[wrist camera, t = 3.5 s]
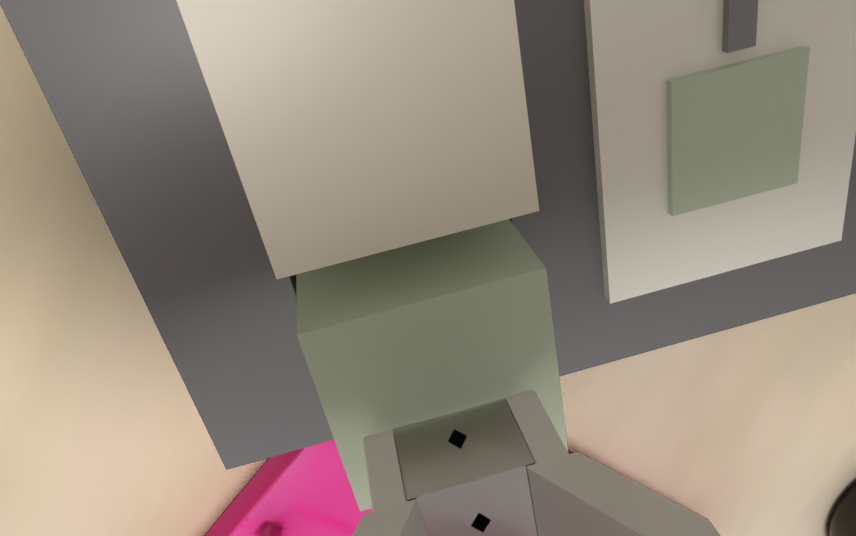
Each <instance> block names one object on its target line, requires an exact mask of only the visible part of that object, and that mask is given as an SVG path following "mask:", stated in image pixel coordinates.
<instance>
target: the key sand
mask: <svg viewBox="0 0 856 536" xmlns="http://www.w3.org/2000/svg"><path fill="white" fill-rule="evenodd" d="M176 1H177V4H178V7H179V9H180V12H181V15H182V18H183V21H184V23H185V26H186V29H187V32H188V34H189V37H190V40H191V43H192V46H193V48H194V51H195V54H196V57H197V60H198V62H199V65H200V68H201V71H202V73H203V76H204V79H205V82H206V85H207V87H208V90H209V93H210V96H211V98H212V101H213V104H214V107H215V110H216V112H217V115H218V118H219V121H220V123H221V126H222V129H223V132H224V135H225V137H226V140H227V143H228V146H229V148H230V151H231V154H232V157H233V160H234V162H235V165H236V168H237V171H238V173H239V176H240V179H241V182H242V185H243V187H244V190H245V193H246V196H247V199H248V201H249V204H250V207H251V210H252V212H253V215H254V218H255V221H256V224H257V226H258V229H259V232H260V235H261V237H262V240H263V243H264V246H265V249H266V251H267V254H268V257H269V260H270V262H271V265H272V268H273V271H274V274H275V276H276V279H281V278H284V277H288V276H292V275H296V274H300V273H304V272H307V271H311V270H315V269H319V268H323V267H327V266H330V265H334V264H338V263H342V262H346V261H349V260H353V259H357V258H361V257H365V256H369V255H372V254H376V253H380V252H384V251H388V250H392V249H395V248H399V247H403V246H407V245H411V244H415V243H418V242H422V241H426V240H430V239H434V238H438V237H441V236H445V235H449V234H453V233H457V232H461V231H464V230H468V229H472V228H476V227H480V226H484V225H487V224H491V223H495V222H499V221H503V220H507V219H510V218H514V217H518V216H522V215H526V214H530V213H533V212H537V211H539V204H538V196H537V187H536V179H535V171H534V162H533V154H532V146H531V138H530V129H529V121H528V113H527V104H526V96H525V88H524V79H523V71H522V63H521V54H520V46H519V38H518V30H517V21H516V13H515V5H514V0H176Z"/></svg>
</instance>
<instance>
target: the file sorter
mask: <svg viewBox="0 0 856 536" xmlns="http://www.w3.org/2000/svg"><path fill="white" fill-rule="evenodd" d="M568 453H569V452H568ZM569 454H571V453H569ZM370 512H372V508H371V509H368V510H364V511H361V512H360V510H359V507H358V504H357V501H356V499H355V496H354V493H353V490H352V488H351V485H350V482H349V479H348V476H347V474H346V471H345V468H344V465H343V463H342V460H341V457H340V454H339V451H338V449H337V446H336V443H335V440H331V441H327V442H324V443H320V444H316V445H313V446H309V447H306V448H302V449H299V450H295V451H291V452H288V453H284V454H281V455H277V456H274V457H270V458H269V459H268V460H267V461H266V463H265V464H264V465H263V466H262V467H261V468H260V470H259V471H258V472H257V473H256V475H255V476H254V477H253V478H252V479H251V481H250V482H249V483H248V484H247V485H246V487H245V488H244V489H243V490H242V492H241V493H240V494H239V495H238V496H237V497H236V499H235V500H234V501H233V502H232V503H231V504H230V506H229V507H228V508H227V509H226V510H225V512H224V513H223V514H222V515H221V517H220V518H219V519H218V520H217V522H216V523H215V524H214V525H213V526H212V528H211V529H210V530H209V531H208V533H207V534H206V535H205V536H352V535H353V533H354V531H355V529H356V527H357V526H358V524H359V522H360V520H361V518H362V516H363V515H364V514H366V513H370Z"/></svg>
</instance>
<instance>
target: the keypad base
mask: <svg viewBox="0 0 856 536" xmlns="http://www.w3.org/2000/svg"><path fill="white" fill-rule="evenodd" d="M0 5H1V7H2V9H3V11H4V13H5V15H6V17H7V19H8V21H9V23H10V25H11V27H12V29H13V31H14V33H15V35H16V38H17V40H18V42H19V44H20V46H21V48H22V50H23V52H24V54H25V56H26V58H27V60H28V62H29V64H30V66H31V68H32V70H33V73H34V75H35V77H36V79H37V81H38V83H39V85H40V87H41V89H42V91H43V93H44V95H45V97H46V99H47V101H48V103H49V105H50V108H51V110H52V112H53V114H54V116H55V118H56V120H57V122H58V124H59V126H60V128H61V130H62V132H63V134H64V136H65V138H66V140H67V143H68V145H69V147H70V149H71V151H72V153H73V155H74V157H75V159H76V161H77V163H78V165H79V167H80V169H81V171H82V173H83V175H84V178H85V180H86V182H87V184H88V186H89V188H90V190H91V192H92V194H93V196H94V198H95V200H96V202H97V204H98V206H99V208H100V210H101V213H102V215H103V217H104V219H105V221H106V223H107V225H108V227H109V229H110V231H111V233H112V235H113V237H114V239H115V241H116V243H117V245H118V248H119V250H120V252H121V254H122V256H123V258H124V260H125V262H126V264H127V266H128V268H129V270H130V272H131V274H132V276H133V278H134V280H135V283H136V285H137V287H138V289H139V291H140V293H141V295H142V297H143V299H144V301H145V303H146V305H147V307H148V309H149V311H150V313H151V315H152V318H153V320H154V322H155V324H156V326H157V328H158V330H159V332H160V334H161V336H162V338H163V340H164V342H165V344H166V346H167V348H168V350H169V353H170V355H171V357H172V359H173V361H174V363H175V365H176V367H177V369H178V371H179V373H180V375H181V377H182V379H183V381H184V383H185V385H186V388H187V390H188V392H189V394H190V396H191V398H192V400H193V402H194V404H195V406H196V408H197V410H198V412H199V414H200V416H201V418H202V420H203V423H204V425H205V427H206V429H207V431H208V433H209V435H210V437H211V439H212V441H213V443H214V445H215V447H216V449H217V451H218V453H219V455H220V458H221V460H222V462H223V464H224V466H225V468H226V470H227V469H231V468H234V467H238V466H242V465H245V464H249V463H252V462H256V461H259V460H263V459H266V458H270V457H274V456H277V455H281V454H284V453H288V452H291V451H295V450H299V449H302V448H306V447H309V446H313V445H316V444H320V443H324V442H327V441H331V440H334V438H333V435H332V432H331V429H330V426H329V424H328V421H327V418H326V415H325V413H324V410H323V407H322V404H321V401H320V399H319V396H318V393H317V390H316V388H315V385H314V382H313V379H312V376H311V374H310V371H309V368H308V365H307V363H306V360H305V357H304V354H303V351H302V349H301V346H300V343H299V340H298V337H297V311H296V275H292V276H288V277H284V278H281V279H276V276H275V274H274V271H273V268H272V265H271V262H270V260H269V257H268V254H267V251H266V249H265V246H264V243H263V240H262V237H261V235H260V232H259V229H258V226H257V224H256V221H255V218H254V215H253V212H252V210H251V207H250V204H249V201H248V199H247V196H246V193H245V190H244V187H243V185H242V182H241V179H240V176H239V173H238V171H237V168H236V165H235V162H234V160H233V157H232V154H231V151H230V148H229V146H228V143H227V140H226V137H225V135H224V132H223V129H222V126H221V123H220V121H219V118H218V115H217V112H216V110H215V107H214V104H213V101H212V98H211V96H210V93H209V90H208V87H207V85H206V82H205V79H204V76H203V73H202V71H201V68H200V65H199V62H198V60H197V57H196V54H195V51H194V48H193V46H192V43H191V40H190V37H189V34H188V32H187V29H186V26H185V23H184V21H183V18H182V15H181V12H180V9H179V7H178V4H177V1H176V0H0ZM514 5H515V13H516V21H517V30H518V38H519V46H520V54H521V63H522V71H523V79H524V88H525V96H526V104H527V113H528V121H529V129H530V138H531V146H532V154H533V162H534V171H535V179H536V187H537V196H538V204H539V211H537V212H533V213H530V214H526V215H522V216H518V217H514V218H510V219H509V220H510V221H511V223H512V224H513V225H514V227H515V228H516V229H517V231H518V232H519V233H520V234H521V236H522V237H523V238H524V240H525V241H526V242H527V244H528V245H529V246H530V248H531V249H532V250H533V252H534V253H535V254H536V255H537V257H538V258H539V259H540V261H541V262H542V263H543V265H544V266H545V267H546V271H547V279H548V287H549V295H550V304H551V312H552V320H553V329H554V337H555V345H556V354H557V362H558V370H559V376H562V375H566V374H569V373H573V372H577V371H580V370H584V369H587V368H591V367H594V366H598V365H602V364H605V363H609V362H612V361H616V360H619V359H623V358H626V357H630V356H634V355H637V354H641V353H644V352H648V351H651V350H655V349H659V348H662V347H666V346H669V345H673V344H676V343H680V342H684V341H687V340H691V339H694V338H698V337H701V336H705V335H708V334H712V333H716V332H719V331H723V330H726V329H730V328H733V327H737V326H741V325H744V324H748V323H751V322H755V321H758V320H762V319H766V318H769V317H773V316H776V315H780V314H783V313H787V312H790V311H794V310H798V309H801V308H805V307H808V306H812V305H815V304H819V303H823V302H826V301H830V300H833V299H837V298H840V297H844V296H847V295H851V294H855V293H856V0H514Z"/></svg>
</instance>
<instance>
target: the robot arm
mask: <svg viewBox="0 0 856 536" xmlns="http://www.w3.org/2000/svg"><path fill="white" fill-rule="evenodd" d="M363 448H364V456H365V463H366V470H367V477H368V484H369V492H370V499H371V506H372V512H370V513H366V514H364V515H363V516H362V518H361V520H360V522H359V524H358V526H357V527H356V529H355V531H354V533H353V535H352V536H720V535H719V533H718V532H717V530H716V529H715V528H714V526H713V525H712V523H711V522H710V521H709V519H707V518H705V517H703V516H701V515H700V514H698V513H696V512H694V511H692V510H690V509H688V508H686V507H684V506H682V505H680V504H678V503H676V502H674V501H672V500H670V499H668V498H666V497H665V496H663V495H661V494H659V493H657V492H655V491H653V490H651V489H649V488H647V487H645V486H643V485H641V484H639V483H637V482H635V481H633V480H632V479H630V478H628V477H626V476H624V475H622V474H620V473H618V472H616V471H614V470H612V469H610V468H608V467H606V466H604V465H602V464H600V463H598V462H597V461H595V460H593V459H591V458H589V457H587V456H585V455H583V454H581V453H579V452H575V453H571V454H569V453H568V451H567V449H566V447H565V445H564V444H563V442H562V440H561V438H560V436H559V434H558V433H557V431H556V429H555V427H554V425H553V423H552V422H551V420H550V418H549V416H548V414H547V412H546V411H545V409H544V407H543V405H542V403H541V401H540V399H539V398H538V396H537V394H536V392H535V391H533V390H532V389H530V390H527V391H524V392H520V393H517V394H514V395H511V396H507V397H504V399H503V398H502V399H499V400H495V401H492V402H489V403H485V404H482V405H478V406H475V407H471V408H468V409H465V410H461V411H458V412H454V413H451V414H447V415H444V416H440V417H436V418H432V419H428V420H424V421H420V422H416V423H413V424H409V425H405V426H401V427H397V428H393V430H388V431H384V432H380V433H376V434H372V435H368V436H365V437H364V438H363Z"/></svg>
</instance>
